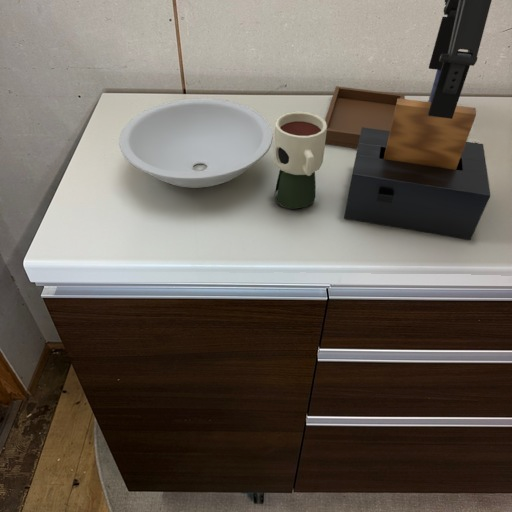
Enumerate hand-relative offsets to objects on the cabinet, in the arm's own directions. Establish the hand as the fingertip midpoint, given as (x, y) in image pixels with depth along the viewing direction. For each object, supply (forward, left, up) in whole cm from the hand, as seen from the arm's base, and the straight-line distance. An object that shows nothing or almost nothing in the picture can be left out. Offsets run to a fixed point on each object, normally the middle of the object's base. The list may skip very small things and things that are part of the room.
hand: (439, 90), depth 60 cm
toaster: (0, 0, -18) cm, 18 cm away
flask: (-5, -30, -18) cm, 36 cm away
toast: (0, 0, -14) cm, 14 cm away
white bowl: (+34, 0, -18) cm, 38 cm away
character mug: (+17, +4, -18) cm, 25 cm away
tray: (+9, -22, -18) cm, 30 cm away
